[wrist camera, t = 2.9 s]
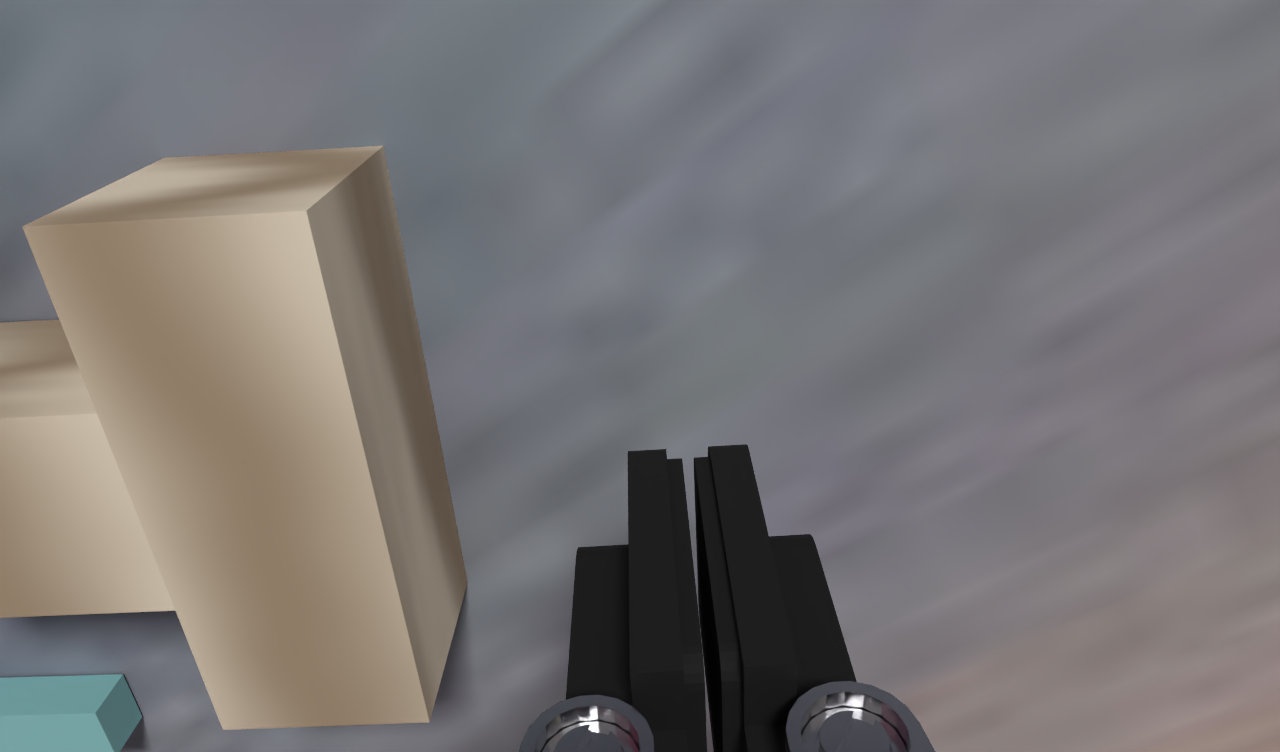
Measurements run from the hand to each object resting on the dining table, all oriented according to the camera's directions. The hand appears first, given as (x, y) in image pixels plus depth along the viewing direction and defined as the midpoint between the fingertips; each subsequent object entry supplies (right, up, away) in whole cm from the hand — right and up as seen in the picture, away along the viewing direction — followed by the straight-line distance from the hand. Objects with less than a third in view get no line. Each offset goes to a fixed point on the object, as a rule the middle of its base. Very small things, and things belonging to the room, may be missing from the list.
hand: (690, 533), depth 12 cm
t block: (-10, +2, +6) cm, 12 cm away
